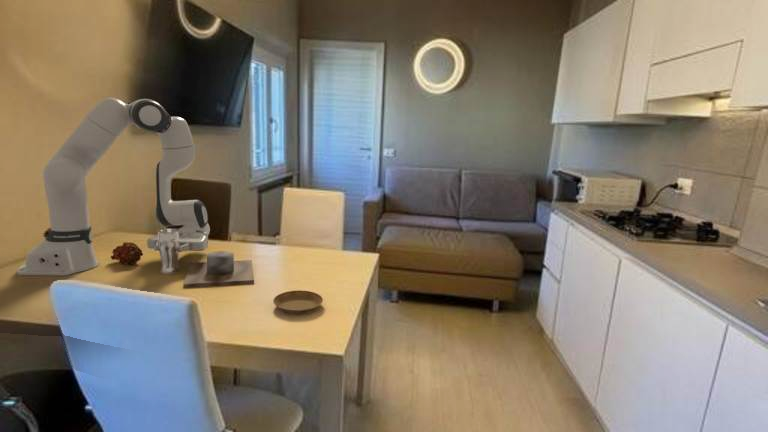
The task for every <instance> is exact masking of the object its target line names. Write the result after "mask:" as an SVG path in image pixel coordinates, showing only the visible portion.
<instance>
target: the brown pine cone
mask: <svg viewBox="0 0 768 432" xmlns="http://www.w3.org/2000/svg"><path fill="white" fill-rule="evenodd" d="M111 254H112V255H110V258H111V260H116V261H118V263H119V264H121V265H125V264H127V265H134V264H135V263H136V262H139V261H140V260H141V257H142V256H144V253H143V251H142V249H141V248H140V247H139V246H138V245H137V244H135V243H134V242H128V241H127V242H126V241H125V242H123V243H122V245H118V246H116V247H115V248H113V250H112V252H111ZM133 263H134V264H133Z"/></svg>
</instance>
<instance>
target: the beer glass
mask: <svg viewBox="0 0 768 432" xmlns="http://www.w3.org/2000/svg"><path fill="white" fill-rule="evenodd" d="M178 229H179V228H172V227H171V228H170V227H167V228H162V229H159V230H158V231H157V235H158V248H159V255H160V259H161V265H160V266H161V267H160V274H164V275H172V274H178V273H179V272H180V268H181V267H180V265H179V256H180V254H179V253H180V252H178V251H177V250H178V249H177V248H178V247H179V246H180V236H179V230H178Z"/></svg>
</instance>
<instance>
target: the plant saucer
mask: <svg viewBox="0 0 768 432" xmlns="http://www.w3.org/2000/svg"><path fill="white" fill-rule="evenodd" d="M272 301H273V302H272V303H273V304H274V305H275V307H276V308H277V309H278V310H280V312H282V313H284V314H287V315H293V316H294V315H295V316H299V315H300V316H301V315H306V314H309V313H312V312H314V311H315V310H317V309H318V308H319V307H320V306H321V305H322V303H323V301H324V298H323V297H322V296H321V295H320V294H319V293H317V292H313V291H309V290H290V291H285V292H281V293H279V294H278V295H275V297H274V298H273V299H272Z"/></svg>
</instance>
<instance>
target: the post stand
mask: <svg viewBox="0 0 768 432" xmlns="http://www.w3.org/2000/svg"><path fill="white" fill-rule="evenodd" d="M234 259H235V256H234V253H233V252H231V251H225V250H223V251H222V250H221V251H220V250H219V251H217V250H216V251H212V252H209V253H207V254H206V261H202V262H201V261H200V262H189V264H188V267H187V268H188V269H187V271H186V273H185V274H186V275H185V278H184V281H183V288H199V287H216V286H230V285H231V286H232V285H233V286H234V285H248V284H249V285H250V284H251V285H252V284H255V278H254V269H253V261H252V260H251V259H250V260H249V259H248V260H247V259H246V260H245V259H243V260H234Z"/></svg>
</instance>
